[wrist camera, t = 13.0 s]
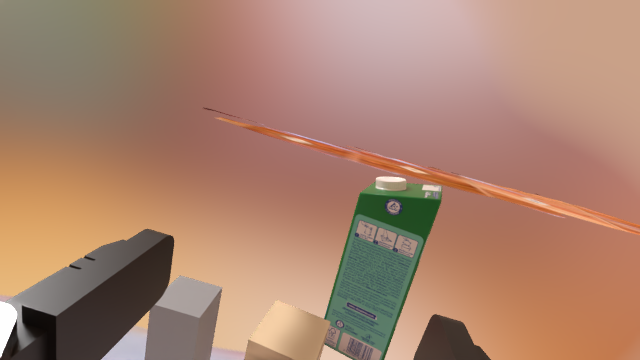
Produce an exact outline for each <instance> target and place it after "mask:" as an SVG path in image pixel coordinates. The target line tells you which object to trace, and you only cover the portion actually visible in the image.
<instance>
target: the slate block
mask: <svg viewBox="0 0 640 360" xmlns="http://www.w3.org/2000/svg"><path fill="white" fill-rule="evenodd" d="M221 292H222V287H219V286H215V285H212V284H208V283H204V282H201V281H198V280H194V279H191V278H187V277H184V276H179V277H178V278H177V279H176V280H175V281H174V282H172V283H171V284H170V285H169V286H168V287H167V289H166V291H165V293H164V294H163V296H162V297H161V299H160V300H159V301H158V302H157V303H156V304H155V305H154V306H153V307H152V308H151V309H150V314H149V324H148V333H147V343H146V353H145V360H210V356H211V350H212V344H213V338H214V332H215V327H216V321H217V315H218V309H219V303H220V298H221Z"/></svg>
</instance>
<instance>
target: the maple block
mask: <svg viewBox="0 0 640 360" xmlns="http://www.w3.org/2000/svg"><path fill="white" fill-rule="evenodd" d="M329 326H330V321H328V320H325V319H323V318H320V317H317V316H315V315H312V314H310V313H308V312H305V311H303V310H300V309H298V308H296V307H293V306H291V305H288V304H286V303H283V302H281V301H278V300H276V301H275V303H274V304H273V306H272V307H271V309H270V310H269V311H268V313H267V314H266V316H265V317H264V319H263V320H262V321H261V323H260V324H259V326H258V327H257V328H256V330H255V331H254V333H253V334H252V335H251V337H250V338H249V340H248V345H247V350H246V354H245V359H244V360H320V357H321V353H322V350H323V346H324V343H325V340H326V336H327V333H328V329H329Z"/></svg>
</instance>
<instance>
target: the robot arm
mask: <svg viewBox="0 0 640 360" xmlns="http://www.w3.org/2000/svg"><path fill="white" fill-rule="evenodd" d="M173 249H174V238H173V237H172V236H171V235H167V234H164V233H160V232H157V231H154V230H150V229H145V230H143V231H141V232H140V233H138V234H137V235H135V236H133V237H132V238H130V239H129V240H127V241H126V240H120V241H117V242H114V243H110V244H107V245H104V246H101V247H99V248H98V249H96V250H94V251H92V252H91V253H89V254H87V255H85V257H84V258H80V259H78V260H77V261H75V262H73V263H72V264H70V266H69V267H65V268H63V269H61V270H60V271H58V272H56V273H54V274H53V275H51V276H49V277H47V278H46V279H44V280H42V281H40V282H39V283H37V284H35V285H33V286H32V287H30V288H29V289H27V290H25V291H23V292H21V293H19V294H18V295H16V296H14V297H13V298H11V299H9V300H7V301H6V302H4V303H2V302H0V360H101V359H102V358H103V357H104V356H105V355H106V354H107V353H108V352H109V351H110V350H111V349H112V348H113V347H114V346H115V345H116V344H117V343H118V342H119V341H120V340H121V339H122V338H123V336H124V335H125V334H126V333H127V332H128V331H129V330H130V329H131V328H132V327H133V326H134V325H135V324H136V323H137V322H138V321H139V320H140V319H141V318H142V317H143V316H144V315H145V314H146V313H147V312H148V311H149V310H150V309H151V308H152V307H153V306H154V305H155V304H156V303H157V302H158V301H159V300H160V299H161V297H162V296H163V294H164V293H165V291H166V289H167V286H168V283H169V280H170V273H171V265H172V256H173ZM414 360H491V359H490V358H489V357H488V356H487V355H486V353H485V352H484V351H483V350H482V349H481V348H480V347H479V346H476V345H474V343H473V341H472V339H471V337H470V335H469V333H468V331H467V329H466V327H465V325H464V324H463V323H462V322H461V321H457V320H453V319H450V318H447V317H443V316H440V315H436V314H435V315H433V316H432V317H431V319H430V321H429V323H428V326H427V328H426V330H425V332H424V335H423V337H422V340H421V342H420V344H419V346H418V349H417V351H416V353H415V356H414Z"/></svg>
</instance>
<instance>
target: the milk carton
mask: <svg viewBox="0 0 640 360" xmlns="http://www.w3.org/2000/svg"><path fill="white" fill-rule="evenodd" d="M441 197H442V186H439V185H438V186H437V185H424V184H410V183H406V179H404V178H399V177H378V178H376V182H374V183H373V184H371V185H370V186H369V187H367V188H366V189H365V190H363V191H362V192H361V193H360V195H359V198H358V202H357V205H356V209H355V212H354V216H353V219H352V223H351V226H350V230H349V233H348V237H347V240H346V244H345V247H344V251H343V255H342V258H341V261H340V265H339V269H338V272H337V276H336V279H335V283H334V286H333V290H332V293H331V297H330V300H329V304H328V307H327V311H326V314H325V318H324V319H325V320H328V321H330V326H329V329H328V333H327V336H326V340H325V343H324V344H325V345H327V346H328V347H330V348H332V349H334V350H336V351H338V352H340V353H341V354H343V355H345V356H347V357H349V358H351V359H353V360H384V358H385V355H386V353H387V350H388V347H389V344H390V342H391V339H392V336H393V333H394V331H395V327H396V325H397V322H398V320H399V317H400V314H401V311H402V309H403V306H404V303H405V300H406V298H407V294H408V292H409V289H410V286H411V284H412V281H413V278H414V275H415V273H416V270H417V267H418V264H419V261H420V259H421V256H422V253H423V251H424V247H425V245H426V242H427V239H428V237H429V234H430V231H431V228H432V226H433V223H434V220H435V217H436V214H437V212H438V209H439V206H440V204H441Z"/></svg>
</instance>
